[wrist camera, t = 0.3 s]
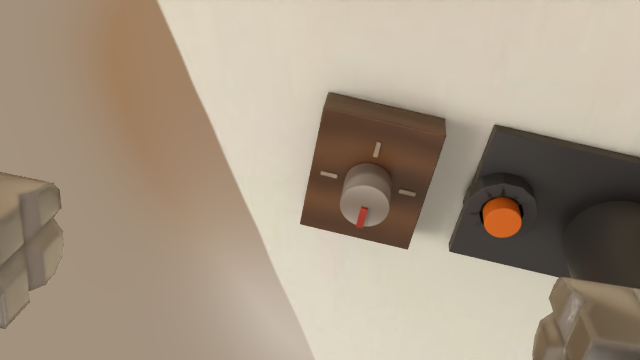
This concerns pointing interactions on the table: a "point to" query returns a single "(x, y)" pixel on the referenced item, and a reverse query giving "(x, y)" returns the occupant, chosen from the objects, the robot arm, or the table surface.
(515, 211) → the button
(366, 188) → the dial
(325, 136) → the dial panel
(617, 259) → the kettle
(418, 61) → the table surface
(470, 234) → the button base
